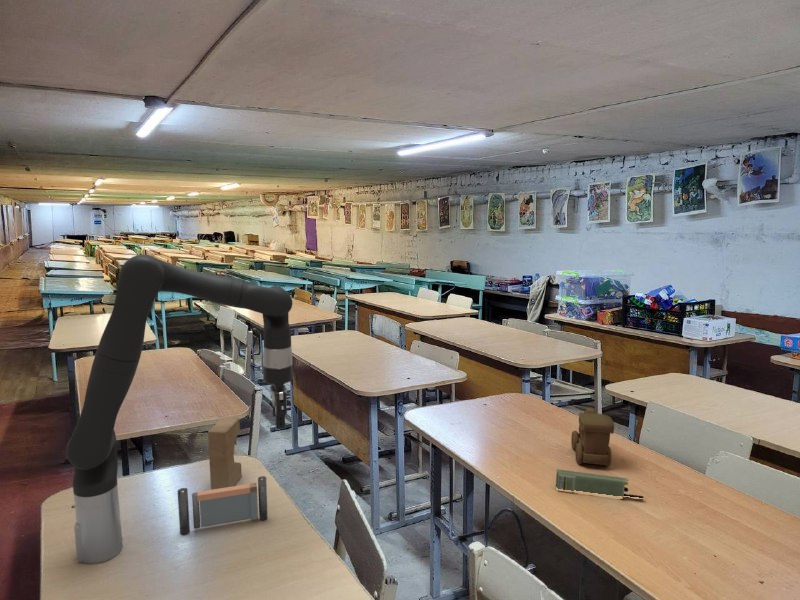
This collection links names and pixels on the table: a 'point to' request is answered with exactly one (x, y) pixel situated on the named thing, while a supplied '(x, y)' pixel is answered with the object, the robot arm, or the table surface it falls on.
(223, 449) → the decorative block
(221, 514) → the gate
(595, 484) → the handheld radio
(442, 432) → the table surface
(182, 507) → the gate frame
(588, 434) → the wooden toy train
